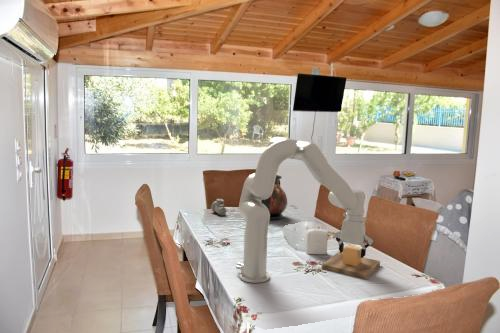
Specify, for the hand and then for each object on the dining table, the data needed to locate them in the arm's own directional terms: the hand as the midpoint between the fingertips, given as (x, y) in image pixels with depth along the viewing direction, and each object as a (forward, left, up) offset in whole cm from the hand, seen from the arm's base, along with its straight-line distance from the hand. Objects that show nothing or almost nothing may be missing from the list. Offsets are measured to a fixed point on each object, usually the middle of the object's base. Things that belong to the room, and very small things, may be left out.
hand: (351, 254), depth 177 cm
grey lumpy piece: (-105, +40, -6) cm, 113 cm away
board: (0, 0, -6) cm, 6 cm away
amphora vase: (-73, +54, -6) cm, 91 cm away
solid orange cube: (0, 0, -4) cm, 4 cm away
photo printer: (-20, +7, -6) cm, 22 cm away
